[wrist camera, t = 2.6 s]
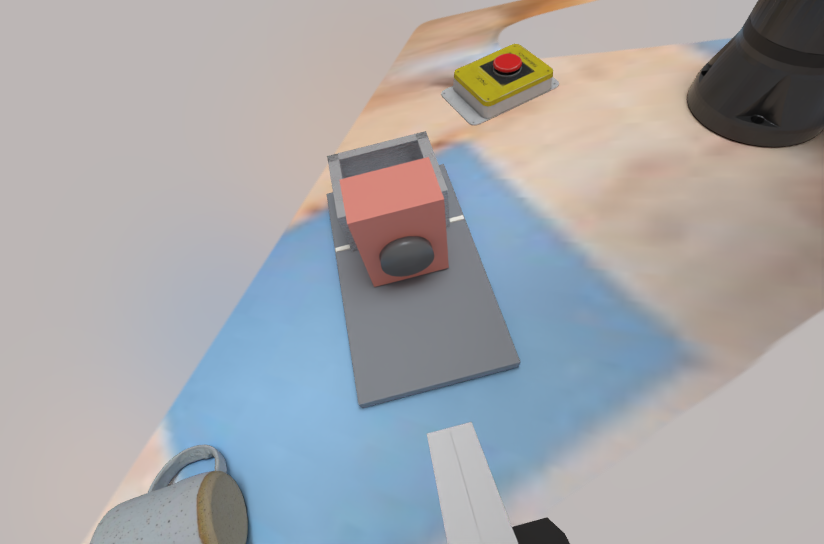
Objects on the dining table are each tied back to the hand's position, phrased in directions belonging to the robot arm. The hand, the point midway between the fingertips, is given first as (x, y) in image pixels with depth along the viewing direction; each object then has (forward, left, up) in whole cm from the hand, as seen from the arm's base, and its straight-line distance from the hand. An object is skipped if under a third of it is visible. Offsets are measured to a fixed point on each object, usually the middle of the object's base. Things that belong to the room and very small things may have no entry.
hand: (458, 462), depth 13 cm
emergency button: (-20, -47, -23) cm, 56 cm away
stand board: (0, -21, -22) cm, 31 cm away
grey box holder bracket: (0, -29, -21) cm, 36 cm away
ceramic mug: (+22, -3, -23) cm, 32 cm away
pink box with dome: (0, -21, -21) cm, 30 cm away
